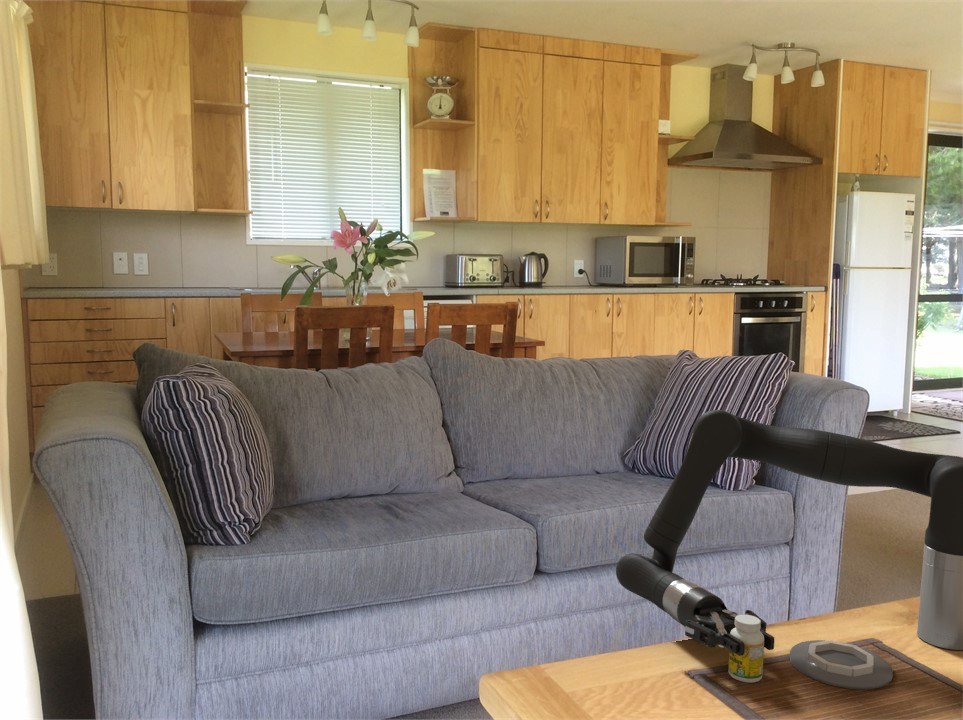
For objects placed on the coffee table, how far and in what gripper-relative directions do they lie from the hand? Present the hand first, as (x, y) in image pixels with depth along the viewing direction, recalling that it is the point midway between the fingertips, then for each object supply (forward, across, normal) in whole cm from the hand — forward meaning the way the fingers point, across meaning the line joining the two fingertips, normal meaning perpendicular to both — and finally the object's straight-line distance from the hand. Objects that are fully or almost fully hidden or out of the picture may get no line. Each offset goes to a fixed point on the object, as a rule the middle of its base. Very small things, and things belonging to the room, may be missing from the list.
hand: (757, 646), depth 135 cm
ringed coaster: (0, +18, +6) cm, 19 cm away
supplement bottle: (-3, 0, +6) cm, 7 cm away
